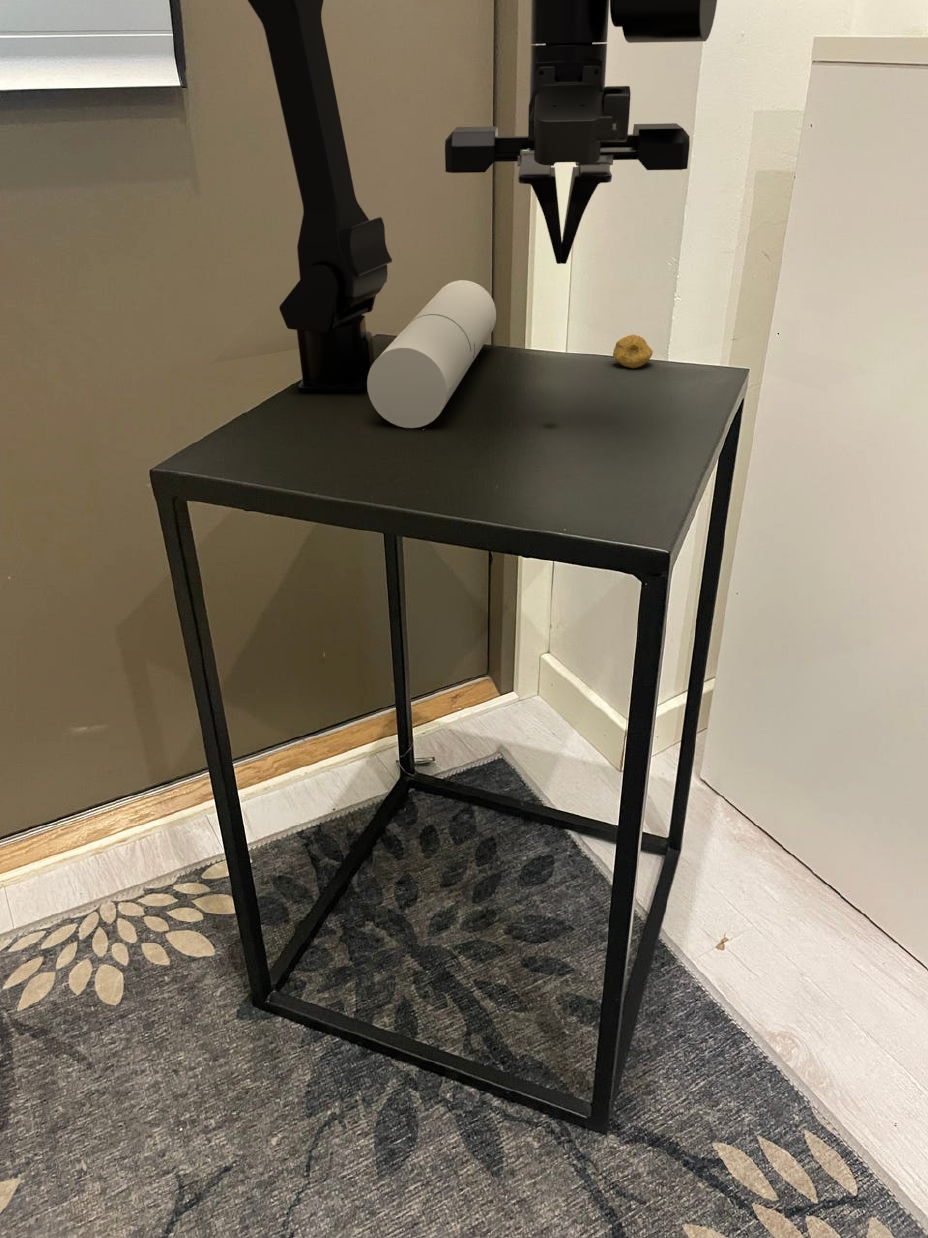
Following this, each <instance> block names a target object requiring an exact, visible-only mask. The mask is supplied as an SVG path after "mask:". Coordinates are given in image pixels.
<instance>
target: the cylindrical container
mask: <svg viewBox="0 0 928 1238" xmlns="http://www.w3.org/2000/svg"><path fill="white" fill-rule="evenodd" d="M496 321H497V309H496V305H495V302H494V299H493V298H492V296H491V295H490V293H489V292H488V291H487V290H486V289H485V288H484V287H483V286H482V285H480V284H478V283H477V282H474V281H472V280H465V279H460V280H453V281H451V282H449V283H447V284H446V285H444V286H443V287H442V288H441V289H440V290H439V291H438V292H437V293H436V294H435V295H434V296H433V297H432V298H431V299H430V301H428V303H427V304H426V305H425V306H424V307H423V308H422V309H421V310H420V312H419V313H417V314H416V315H415V316H414V318H413V319H412V320H411V321H410V322H409V323H408V324H407V325H406V326H405V328H403V330H402V331H401V332H400V333H399V334H398V335H397V336H396V337H395V338H394V339H393V341H392V342H391V343H390V344H389V345H388V346H387V347H386V348H385V349H384V350H383V351H382V353H380V355H379V356H378V357H377V358H376V359H374V363H373V365H372V366H371V368H370V371H369V374H368V379H367V385H366V388H367V394H368V398H369V400H370V402H371V404H372V406H373V408H374V409H375V410H376V412H377V413H378V414H379V415H380V416H381V417H382V418H383V419H384V420H386V421H387V422H389V423H391V424H392V425H395V426H396V427H400V428H405V429H416V428H421V427H425V426H427V425H429V424H431V423H432V422H434V421H435V420H436V419H437V418H438V417H439V416H440V414H441V413H442V411H443V410H444V408H445V407H446V405H447V403H448V402H449V400H450V399H451V397H452V395H453V394H454V393H455V391H456V390H457V387H459V385H460V383H461V381H462V380H463V378H464V376H465V375H466V373H467V372H468V370H469V369H470V367H471V365H472V364H473V362H474V361H475V359H476V358H477V356H478V355H479V353H480V352H481V350H482V348H483V347H484V345H485V343H486V342H487V340H488V339H489V337H490V335H491V333H492V332H493V331H494V328H495V326H496Z"/></svg>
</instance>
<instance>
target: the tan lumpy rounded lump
mask: <svg viewBox="0 0 928 1238" xmlns="http://www.w3.org/2000/svg"><path fill="white" fill-rule="evenodd" d="M653 353H654V352H653V350H652V348H651V347H650V346H649V345H648V344H647V342H646V340H645V339H644V337H642V336H640V335H637V334H630V335H626V336H624V337H622V338H620V339H619V340H617V341H616V342H615V346H614V348H613V352H612V357H613V359H614V360H615V361H616V362H617V363H619V364H620V365H622V366H623V367H625V368H629V369H638V368H639V367H642V366H644V365H646V364H647V363H648V362H649V361H650V359H651V358H652V356H653Z"/></svg>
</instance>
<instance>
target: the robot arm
mask: <svg viewBox="0 0 928 1238" xmlns="http://www.w3.org/2000/svg"><path fill="white" fill-rule="evenodd" d="M246 1H247V2H248V4H249V5H250V7H251V9H252V11H254V13H255V15H256V17H257V18H258V19H259V21H260V23H261V25H262V28H263V32H264V34H265V40H266V44H267V48H268V53H269V58H270V62H271V67H272V72H273V76H274V80H275V85H276V90H277V94H278V99H279V102H280V103H279V104H280V108H281V112H282V117H283V122H284V126H285V130H286V135H287V140H288V144H289V149H290V153H291V158H292V162H293V167H294V172H295V176H296V182H297V186H298V190H299V195H300V200H301V204H302V218H301V224H300V229H299V235H298V238H297V239H298V240H297V245H296V251H297V262H298V263H297V264H298V274H299V275H298V276H299V280H298V282H297V283H296V284H295V286H294V287H293V288H292V289H291V291H290V292H289V293H288V295H287V296H286V297H285V298H284V300H283V301H282V302H281V303H280V305H279V311H280V314H281V317H282V319H283V321H284V324H285V326H286V328H287V329H288V330H294V331H296V337H297V345H298V353H299V359H300V360H299V361H300V369H301V378H302V380H301V381H300V383H299V384H298V386H297V387H298V391H299V392H335V393H336V392H338V393H339V392H345V393H346V392H347V393H348V392H350V393H351V392H353V393H354V392H357V393H358V392H360V393H361V392H363V391H365V389H366V388H367V379H368V374H369V371H370V368H371V366H372V365H373V363H374V361H375V356H374V344H373V343H374V342H373V333H372V331H370V330H369V331H368V330H367V325H366V315H365V314H368V313H371V312H373V309H374V306H375V301H376V297H377V295H378V294H380V292H381V290H383V287H384V286H385V284H386V283H387V280H388V274H389V273H388V264H389V265H390V264H391V263H392V262H393V259H392V257H391V255H390V253H389V250H388V247H387V243H386V229H385V223H384V219H383V217H381V216H378V217H376V218H373V219H369V217H368V216H367V214H366V213H365V211H364V210H363V207H361V205H360V204H359V202H358V200H357V196H356V193H355V189H354V188H355V187H354V182H353V177H352V173H351V167H350V162H349V156H348V151H347V146H346V141H345V135H344V130H343V125H342V120H341V115H340V110H339V106H338V105H339V104H338V99H337V94H336V89H335V83H334V78H333V73H332V68H331V63H330V58H329V52H328V46H327V42H326V38H325V37H326V36H325V32H324V27H323V21H322V20H323V19H322V11H323V5H324V0H246ZM530 3H531V6H530V8H531V9H530V11H531V12H530V67H529V69H530V70H529V72H530V73H529V75H530V77H529V79H530V80H529V103H528V119H527V120H528V122H527V123H528V124H527V125H528V128H527V135H516V136H515V135H509V136H507V135H506V136H504V135H503V136H499V128H498V127H499V126H497V125H496V126H494V125H493V126H456V127H455V128H454V129H453V130H452V132H450V134H449V135H448V136H447V137H446V139H445V140H444V164H445V167H444V168H445V173H449V174H471V173H472V174H474V173H475V174H476V173H480V174H481V173H486V172H487V171H488V170H489V168H490V167H491V166H492V165H493V164H494V163H499V162H501V163H506V162H507V163H510V162H516V163H517V167H519V170H518V176H517V181H518V183H519V184H520V185H521V184H522V185H530V186H531V189H532V190H533V193H534V194H535V196H536V199H537V201H538V204H539V206H540V209H541V211H542V214H543V217H544V221H545V224H546V229H547V232H548V235H549V240H550V243H551V247H552V250H553V251H552V252H553V255H554V258H555V263H556V264H557V265H561V264H562V265H566V264H567V262H568V259H569V257H570V253H571V250H572V248H573V245H574V242H575V240H576V239H575V238H576V236H577V232H578V230H579V227H580V224H581V220H582V218H583V216H584V213H585V211H586V209H587V207H588V205H589V203H590V201H591V199H592V196H593V194H594V193H595V191H596V189H597V188H598V186H599V185H600V184H608V183H611V182H612V178H613V174H612V172H611V166H613V165H614V161H638V162H639V163H640V164H641V165H642V166H643V168H645V170H646V171H682V170H687V169H688V165H689V157H690V144H691V143H690V141H691V140H690V135H689V134H688V133H687V131H686V130H685V128H683V127H682V126H681V125H679V124H678V123H674V122H672V123H671V122H669V123H634V124H633V127H632V128H633V129H632V133H630V134H629V125H630V113H631V112H630V110H631V94H632V93H631V87H630V86H629V85H615V86H613V85H610V86H609V85H607V86H606V74H607V73H606V72H607V57H608V55H607V53H608V33H609V16H610V19H611V24H612V25H613V27H614V28H621V30H622V34H623V37H624V39H625V41H626V43H629V44H635V43H636V44H638V43H640V44H642V43H692V42H696V43H697V42H699V43H701V42H707V40H708V39H709V37H710V35H711V32H712V28H713V25H714V20H715V17H716V11H717V5H718V0H531V1H530ZM609 13H610V14H609ZM556 163H557V164H558V163H575V166H573V167H572V171H571V177H570V184H569V191H568V197H567V205H566V211H565V216H564V217H565V218H564V225H563V232H562V229H561V219H560V209H559V208H560V207H559V197H558V187H557V176H556V167H555V164H556Z"/></svg>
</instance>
